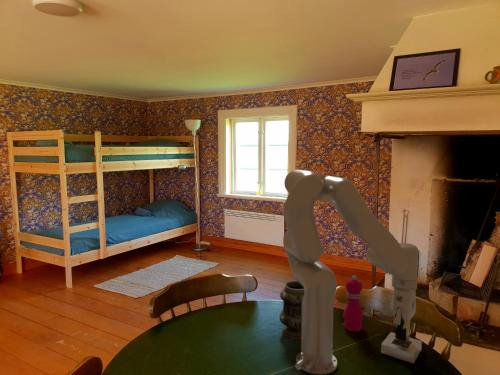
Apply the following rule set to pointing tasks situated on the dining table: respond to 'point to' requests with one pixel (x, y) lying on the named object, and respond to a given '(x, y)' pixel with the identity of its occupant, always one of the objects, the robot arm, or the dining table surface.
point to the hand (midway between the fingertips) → (402, 335)
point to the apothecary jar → (292, 309)
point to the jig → (401, 348)
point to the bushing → (406, 333)
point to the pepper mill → (353, 305)
